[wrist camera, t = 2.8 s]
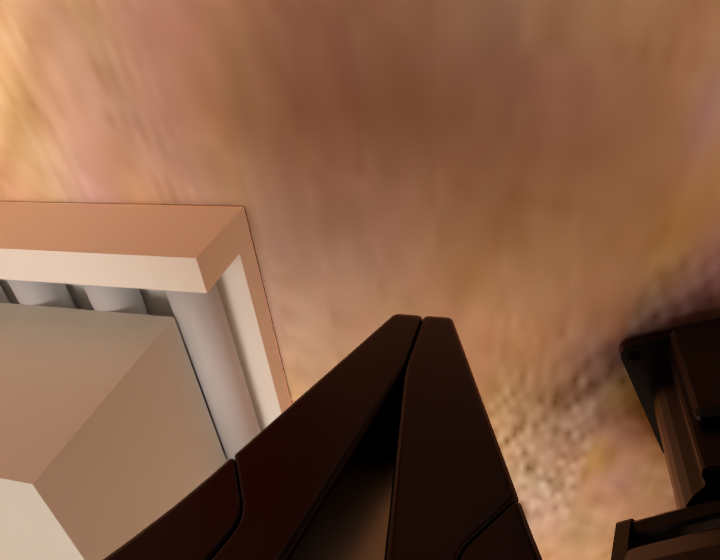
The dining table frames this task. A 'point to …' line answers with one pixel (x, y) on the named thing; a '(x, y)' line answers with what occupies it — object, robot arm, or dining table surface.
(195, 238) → the roller bed
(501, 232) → the dining table surface
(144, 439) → the beige block
